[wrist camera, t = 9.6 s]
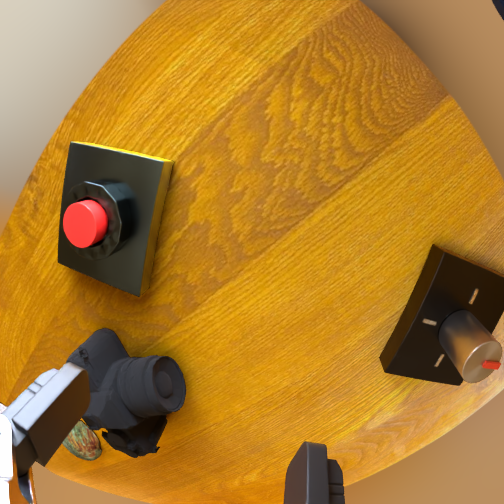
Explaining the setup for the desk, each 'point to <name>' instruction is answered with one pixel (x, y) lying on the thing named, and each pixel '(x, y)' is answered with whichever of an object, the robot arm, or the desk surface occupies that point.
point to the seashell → (83, 442)
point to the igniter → (116, 213)
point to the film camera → (128, 393)
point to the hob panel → (441, 315)
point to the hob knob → (470, 346)
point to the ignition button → (85, 223)
